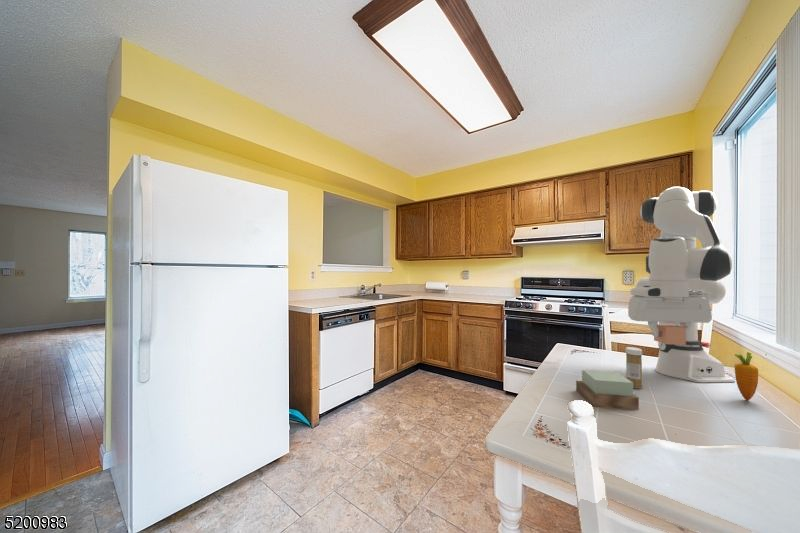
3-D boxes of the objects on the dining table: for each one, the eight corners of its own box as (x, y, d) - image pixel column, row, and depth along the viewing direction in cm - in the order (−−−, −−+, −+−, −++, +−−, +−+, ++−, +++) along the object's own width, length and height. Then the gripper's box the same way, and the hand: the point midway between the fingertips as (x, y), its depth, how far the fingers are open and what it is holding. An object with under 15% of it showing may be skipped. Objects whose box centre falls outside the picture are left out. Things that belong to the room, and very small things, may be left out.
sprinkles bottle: (644, 387, 102) (644, 348, 103) (639, 390, 100) (639, 350, 100) (629, 383, 106) (628, 346, 106) (623, 385, 104) (623, 347, 104)
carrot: (742, 402, 90) (741, 353, 91) (730, 396, 95) (729, 349, 95) (764, 404, 89) (762, 355, 89) (751, 398, 93) (750, 351, 94)
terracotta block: (672, 340, 89) (672, 324, 89) (685, 344, 84) (685, 327, 84) (654, 340, 89) (653, 323, 90) (666, 344, 84) (666, 326, 85)
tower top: (615, 384, 96) (615, 371, 96) (633, 396, 86) (633, 382, 86) (582, 381, 98) (582, 369, 98) (595, 393, 88) (595, 380, 89)
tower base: (615, 394, 97) (614, 382, 97) (638, 411, 85) (638, 397, 86) (576, 392, 99) (576, 380, 99) (594, 408, 87) (593, 395, 87)
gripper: (698, 290, 89) (699, 335, 88) (624, 289, 92) (625, 333, 91) (718, 291, 82) (719, 340, 82) (638, 290, 85) (638, 338, 85)
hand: (669, 336), depth 87 cm, fingers closed on terracotta block, 5 cm apart
